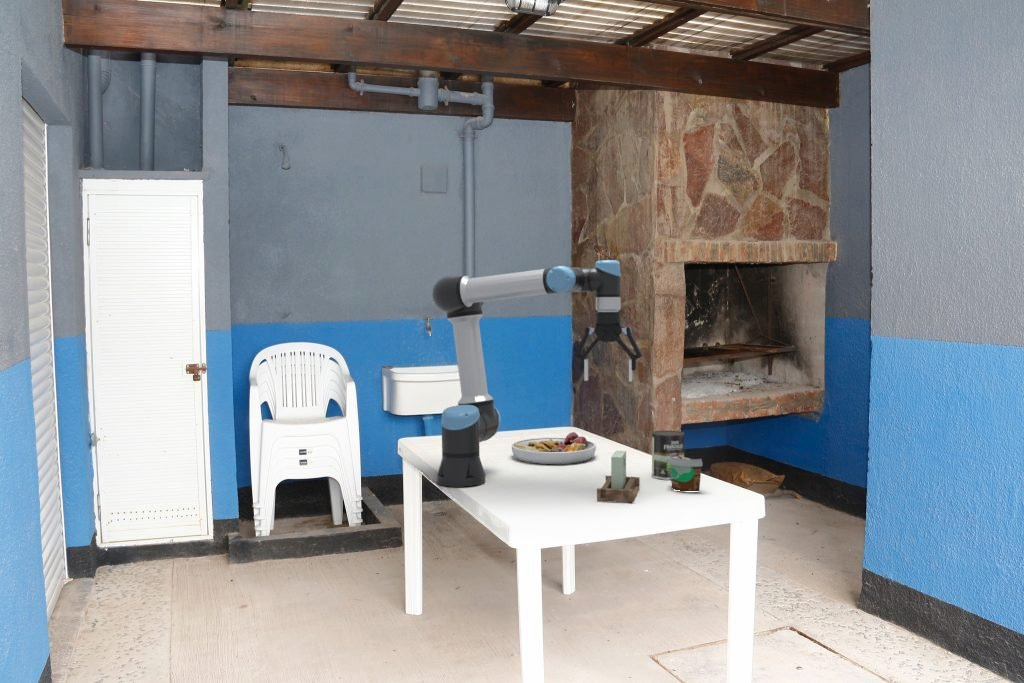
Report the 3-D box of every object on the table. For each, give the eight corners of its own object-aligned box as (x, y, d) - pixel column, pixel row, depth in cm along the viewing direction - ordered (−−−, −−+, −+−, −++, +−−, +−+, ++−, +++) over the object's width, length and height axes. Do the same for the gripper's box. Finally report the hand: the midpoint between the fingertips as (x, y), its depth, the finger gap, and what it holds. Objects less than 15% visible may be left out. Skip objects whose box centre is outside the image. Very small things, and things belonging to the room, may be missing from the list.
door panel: (611, 495, 243) (610, 456, 242) (615, 487, 252) (615, 450, 252) (622, 495, 242) (622, 457, 241) (626, 487, 252) (626, 450, 251)
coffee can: (690, 478, 268) (690, 434, 267) (660, 481, 265) (660, 436, 264) (675, 472, 278) (675, 429, 277) (646, 474, 275) (646, 431, 274)
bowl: (565, 470, 283) (565, 447, 283) (494, 460, 301) (494, 438, 301) (611, 456, 307) (611, 434, 307) (543, 447, 325) (543, 427, 325)
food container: (659, 487, 256) (659, 454, 256) (674, 484, 259) (675, 452, 259) (686, 495, 246) (686, 461, 245) (702, 493, 249) (702, 459, 248)
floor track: (597, 501, 240) (596, 489, 240) (606, 487, 257) (606, 475, 257) (632, 503, 237) (632, 490, 237) (639, 488, 255) (639, 477, 254)
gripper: (650, 310, 259) (650, 380, 261) (570, 311, 266) (570, 378, 267) (648, 311, 252) (648, 382, 253) (565, 311, 259) (565, 381, 260)
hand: (608, 380), depth 260 cm, fingers open, 13 cm apart
